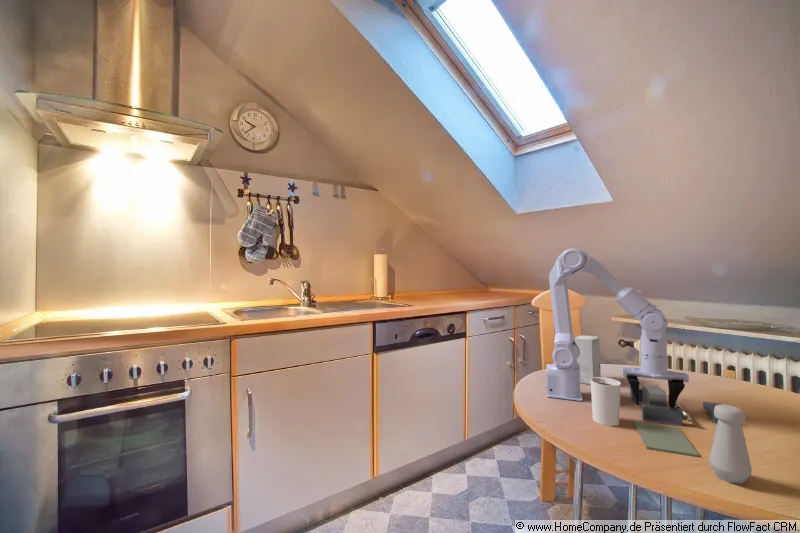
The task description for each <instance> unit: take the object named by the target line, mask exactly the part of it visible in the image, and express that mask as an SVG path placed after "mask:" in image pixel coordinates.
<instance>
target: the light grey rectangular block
mask: <svg viewBox="0 0 800 533" xmlns="http://www.w3.org/2000/svg"><path fill="white" fill-rule="evenodd" d="M641 386H642V387H641V388H642V397H643V402H642V404H647V405H655V406H663V407H668V406H667V405H668V404H667V403H668V402H667V398H668V396H667V394H665V393H664V392H663V390H664V389H662V388H661V387H660V386H659V385H658V384H652V383H642V385H641Z"/></svg>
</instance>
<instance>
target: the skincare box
mask: <svg viewBox="0 0 800 533" xmlns="http://www.w3.org/2000/svg"><path fill="white" fill-rule="evenodd" d="M575 342H576V344H577V346H578V347H579V350H580V355H579V357H578V358H577V359H576V360H577V362H578V364H579V365H580V384H581V383H582V384H585V385H590V386H591V381H590V380H591V378H593V377H602V374H601V373H602V372H601V349H600V348H601V347H600V343H601V340H600V336H595V335H594V336H593V335H585V334H582V335H578V336H576V337H575Z"/></svg>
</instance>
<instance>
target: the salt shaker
mask: <svg viewBox="0 0 800 533" xmlns="http://www.w3.org/2000/svg"><path fill="white" fill-rule="evenodd" d="M714 415H715V417H716V418H717V419H718V423H717V424H716V428H715V432H714V437H713V440H712V445H711V448H710V453H709V457H708V462H709V464H710V467H711V468H712V469H713V471H714V473H715V475H716V476H717V478H718V479H720V480H723V481H725V482H727V483H730V484H735V483H736V484H735V485H741V484H742V485H743V484H745V483H746V482H747V480H748V479H749V478H750V477H751V475H752V464H751V459H750V455H749V452H748V447H747V443H746V442H747V441H746V438H745V433H744V430H743V429H744V428H743V424H745V423H746V421H747V420H746V418H747V416H746V412H745V411H744V410H743V409H741V408H739V407H738V406H734V405H730V404H722V405H717V406H715V408H714Z"/></svg>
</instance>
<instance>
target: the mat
mask: <svg viewBox="0 0 800 533" xmlns="http://www.w3.org/2000/svg"><path fill="white" fill-rule="evenodd" d="M633 424H634V427H635V429H636V430H637V433H638V434H639V436H640V438H641V440H642V442H643V444H644V446H645V448H646V449H647V450H653V451H660V452H667V453H673V454H678V455H684V456H685V455H686V456H689V457H690V456H691V457H697V458H700V454H699V453H698V451H697V450H696V448H694V447H693V445H692V444H691V442H690V441H689V440H688V439H687V436H685V435H684V433H683V432H682V430H681V429H680V428H679V427H676V426H670V425H661V424H653V423H648V422H639V421H638V422H637V421H633Z"/></svg>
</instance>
